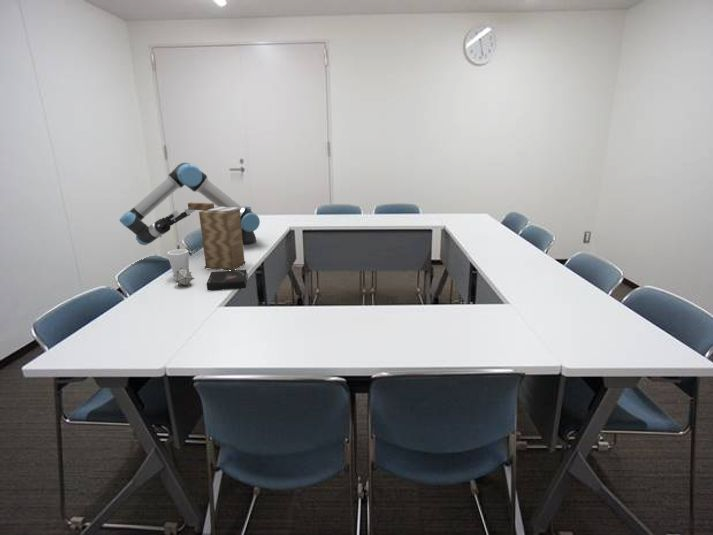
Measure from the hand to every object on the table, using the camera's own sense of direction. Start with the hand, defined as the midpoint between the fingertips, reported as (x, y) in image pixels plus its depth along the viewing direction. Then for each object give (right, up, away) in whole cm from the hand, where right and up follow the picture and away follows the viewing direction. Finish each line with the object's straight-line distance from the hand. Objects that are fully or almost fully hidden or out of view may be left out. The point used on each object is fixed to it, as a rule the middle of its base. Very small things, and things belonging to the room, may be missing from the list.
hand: (187, 209), depth 209 cm
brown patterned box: (+18, -29, +6) cm, 35 cm away
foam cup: (+2, -35, -11) cm, 37 cm away
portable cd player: (+28, -38, -18) cm, 51 cm away
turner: (+14, -1, -3) cm, 15 cm away
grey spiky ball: (+8, -39, -21) cm, 45 cm away
